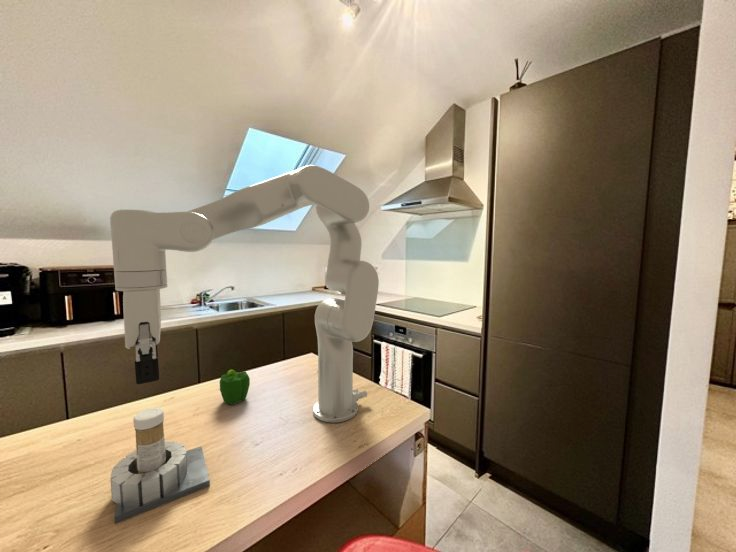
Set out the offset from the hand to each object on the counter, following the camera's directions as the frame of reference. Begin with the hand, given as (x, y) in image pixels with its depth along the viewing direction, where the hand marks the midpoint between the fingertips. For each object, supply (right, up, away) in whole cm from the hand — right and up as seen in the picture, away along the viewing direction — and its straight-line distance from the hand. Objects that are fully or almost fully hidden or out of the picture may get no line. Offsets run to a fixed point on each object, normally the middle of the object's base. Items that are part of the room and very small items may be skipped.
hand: (148, 372), depth 56 cm
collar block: (+1, -22, +2) cm, 22 cm away
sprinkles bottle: (0, -21, +2) cm, 21 cm away
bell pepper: (+1, -20, +34) cm, 39 cm away
